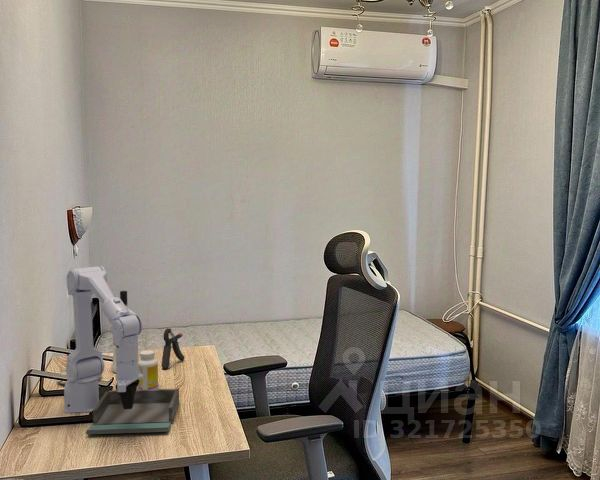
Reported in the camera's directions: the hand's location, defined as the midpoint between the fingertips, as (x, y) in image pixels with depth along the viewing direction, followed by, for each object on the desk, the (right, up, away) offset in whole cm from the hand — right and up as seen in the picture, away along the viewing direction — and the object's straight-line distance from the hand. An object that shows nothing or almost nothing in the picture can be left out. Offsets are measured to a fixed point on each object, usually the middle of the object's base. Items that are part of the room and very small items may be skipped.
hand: (128, 408), depth 146 cm
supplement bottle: (-4, -5, +34) cm, 34 cm away
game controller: (-30, -4, +41) cm, 51 cm away
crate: (-1, -6, +13) cm, 15 cm away
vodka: (-18, -3, +53) cm, 56 cm away
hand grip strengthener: (-2, -2, +59) cm, 59 cm away
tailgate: (0, -7, +4) cm, 8 cm away
